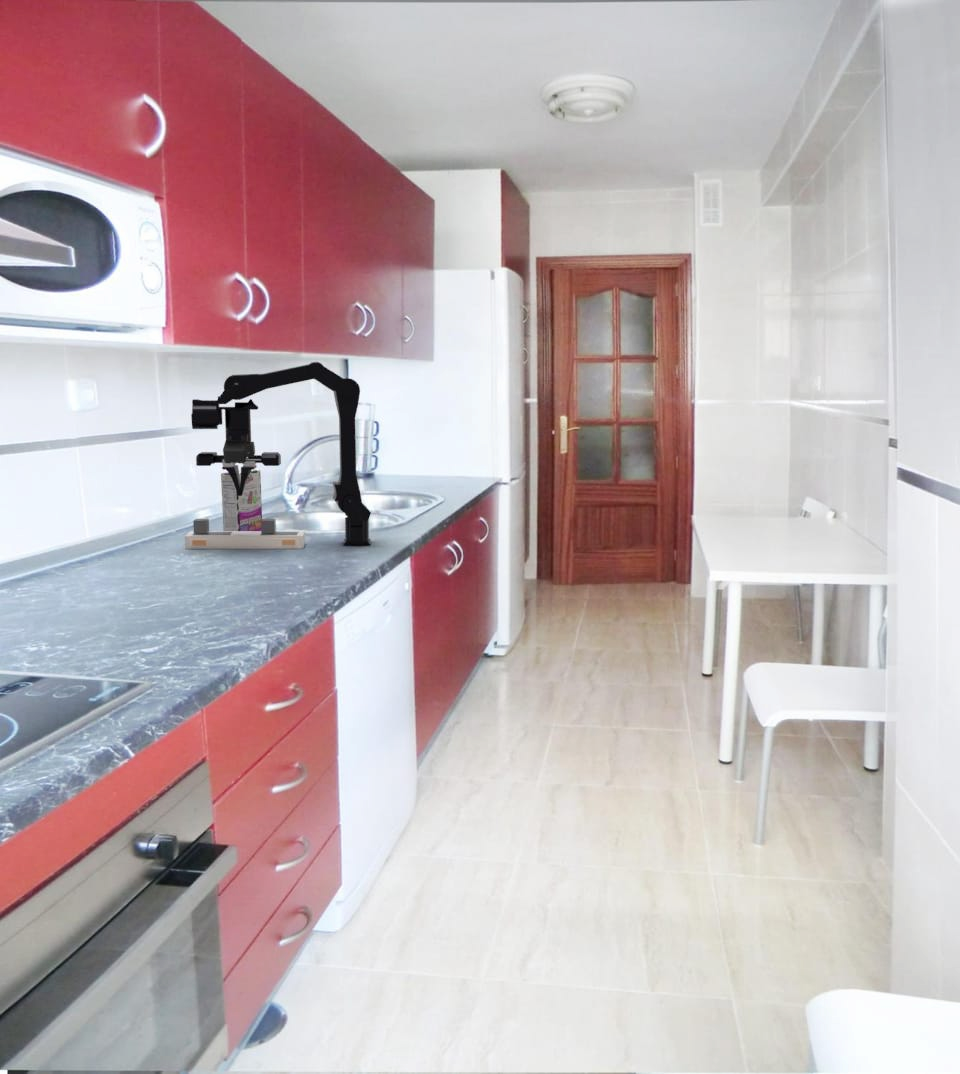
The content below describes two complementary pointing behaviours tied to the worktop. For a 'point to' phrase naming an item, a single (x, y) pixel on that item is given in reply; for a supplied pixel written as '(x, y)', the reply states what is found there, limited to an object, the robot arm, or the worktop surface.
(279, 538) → the switch bank
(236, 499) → the candy bar box
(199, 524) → the outer tab
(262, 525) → the inner tab
